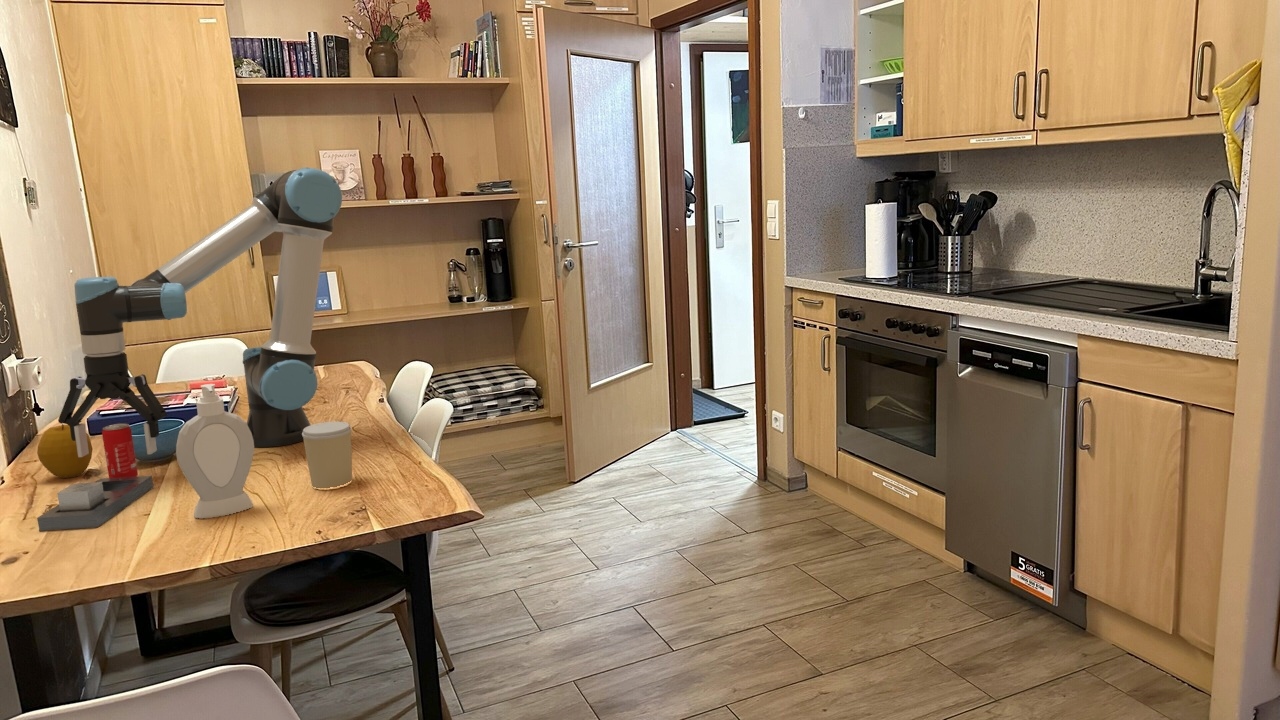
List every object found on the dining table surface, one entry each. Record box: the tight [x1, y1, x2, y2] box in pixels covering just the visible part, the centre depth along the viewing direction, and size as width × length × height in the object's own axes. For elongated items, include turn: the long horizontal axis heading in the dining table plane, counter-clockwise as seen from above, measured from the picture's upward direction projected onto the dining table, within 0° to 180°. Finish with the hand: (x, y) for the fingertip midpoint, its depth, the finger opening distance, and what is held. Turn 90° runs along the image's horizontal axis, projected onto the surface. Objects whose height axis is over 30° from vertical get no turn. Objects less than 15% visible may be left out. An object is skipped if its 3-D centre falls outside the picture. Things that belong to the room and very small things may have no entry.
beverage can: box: [101, 423, 139, 478], centre depth 181 cm, size 5×5×12 cm
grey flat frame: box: [36, 475, 154, 532], centre depth 166 cm, size 10×22×6 cm, turn 5°
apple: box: [36, 423, 93, 479], centre depth 186 cm, size 10×10×12 cm
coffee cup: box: [302, 421, 353, 488], centre depth 175 cm, size 9×9×12 cm
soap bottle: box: [175, 383, 255, 520], centre depth 159 cm, size 13×8×24 cm, turn 122°
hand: (118, 454), depth 181 cm, fingers open, 13 cm apart
